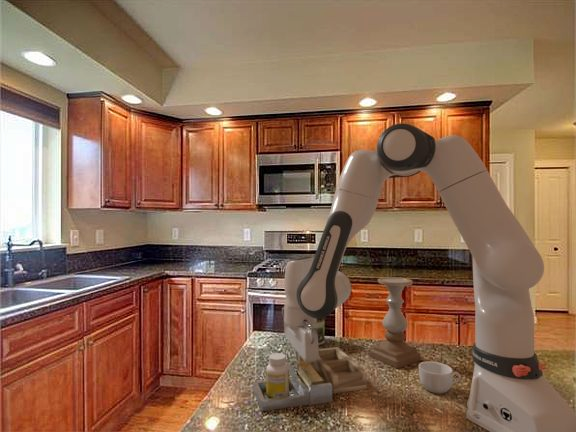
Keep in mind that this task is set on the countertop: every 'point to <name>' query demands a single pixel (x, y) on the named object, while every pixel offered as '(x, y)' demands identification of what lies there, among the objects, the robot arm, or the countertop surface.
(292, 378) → the socket block
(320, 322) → the coffee can
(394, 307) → the candle holder
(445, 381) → the teacup
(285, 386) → the supplement bottle
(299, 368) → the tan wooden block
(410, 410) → the countertop surface
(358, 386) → the box
